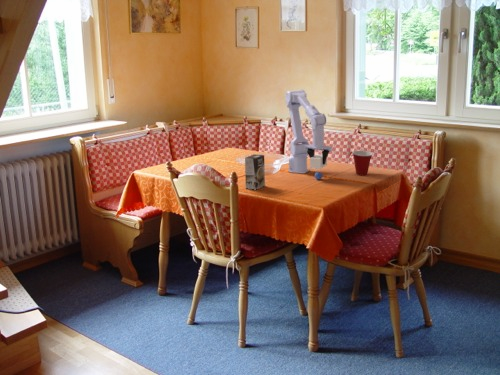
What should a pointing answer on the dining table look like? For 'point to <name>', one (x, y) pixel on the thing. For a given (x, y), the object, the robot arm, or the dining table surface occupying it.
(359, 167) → the plastic cup
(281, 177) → the dining table surface
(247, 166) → the coffee box
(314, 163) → the cream rectangular prism
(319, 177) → the ball
